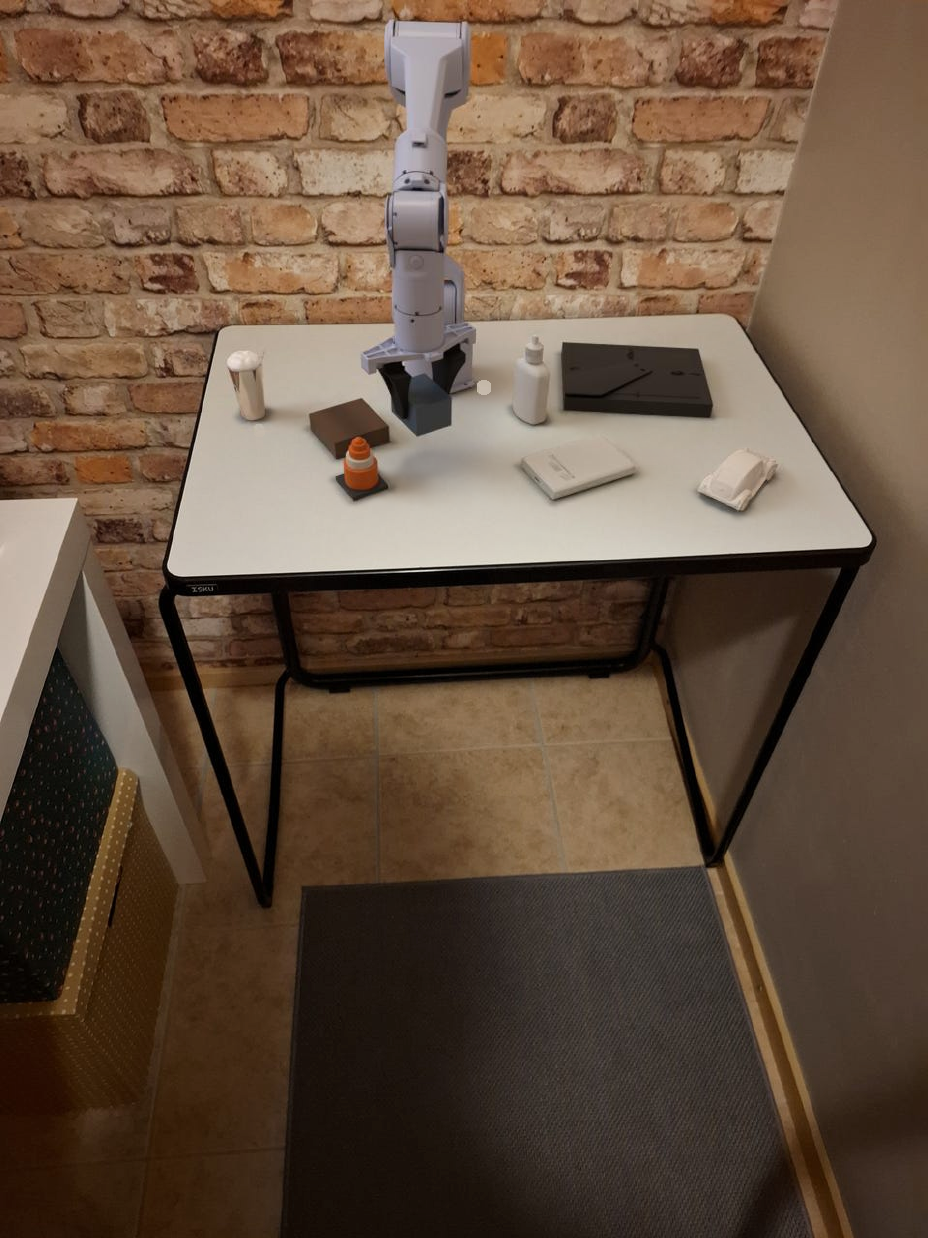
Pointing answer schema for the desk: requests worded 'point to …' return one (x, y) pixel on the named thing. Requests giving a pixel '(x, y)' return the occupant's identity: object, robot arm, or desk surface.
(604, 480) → the hard drive
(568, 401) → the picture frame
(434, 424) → the blue block
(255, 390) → the milkshake
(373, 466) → the cone
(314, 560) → the desk surface
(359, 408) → the base block
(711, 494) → the car
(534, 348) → the eye dropper bottle
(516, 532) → the desk surface
